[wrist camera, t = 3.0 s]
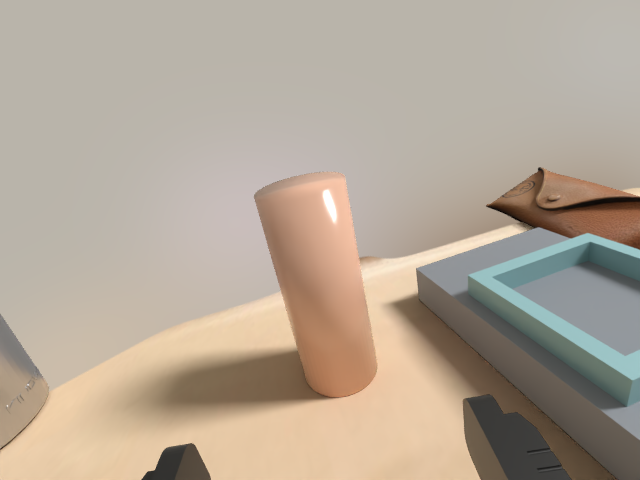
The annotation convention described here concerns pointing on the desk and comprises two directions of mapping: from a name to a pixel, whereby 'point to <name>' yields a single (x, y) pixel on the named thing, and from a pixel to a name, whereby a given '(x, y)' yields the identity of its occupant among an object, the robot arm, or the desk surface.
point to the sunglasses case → (573, 208)
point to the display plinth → (555, 330)
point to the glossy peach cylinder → (320, 279)
